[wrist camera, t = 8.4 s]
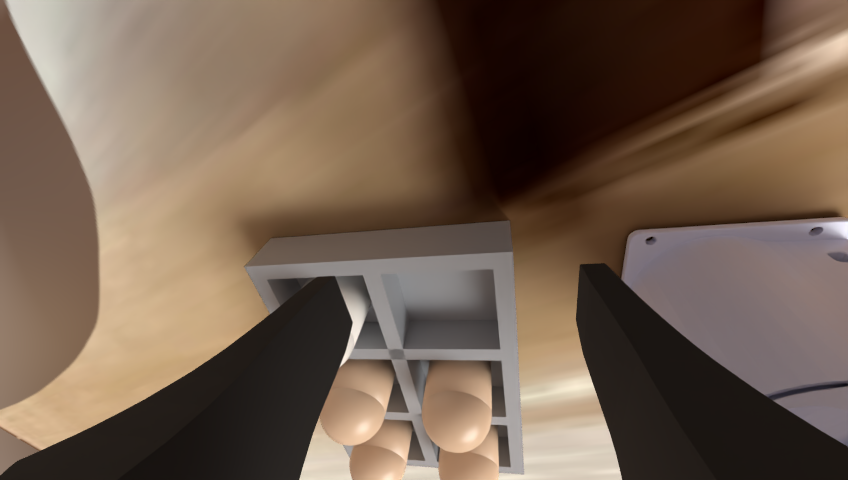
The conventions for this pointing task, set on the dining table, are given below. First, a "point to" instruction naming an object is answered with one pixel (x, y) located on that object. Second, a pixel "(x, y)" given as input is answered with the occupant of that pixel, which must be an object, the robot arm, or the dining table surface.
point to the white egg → (353, 305)
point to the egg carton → (418, 346)
